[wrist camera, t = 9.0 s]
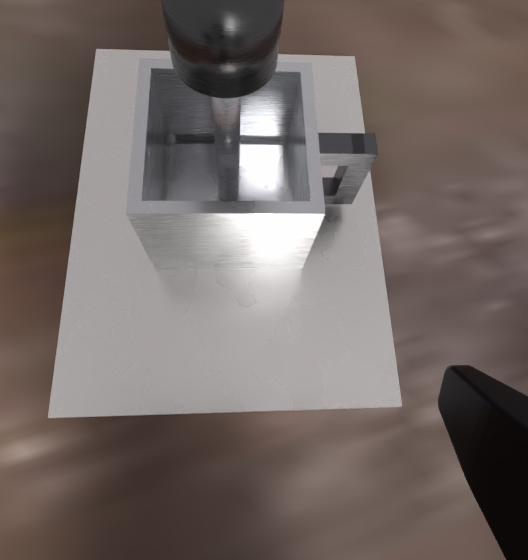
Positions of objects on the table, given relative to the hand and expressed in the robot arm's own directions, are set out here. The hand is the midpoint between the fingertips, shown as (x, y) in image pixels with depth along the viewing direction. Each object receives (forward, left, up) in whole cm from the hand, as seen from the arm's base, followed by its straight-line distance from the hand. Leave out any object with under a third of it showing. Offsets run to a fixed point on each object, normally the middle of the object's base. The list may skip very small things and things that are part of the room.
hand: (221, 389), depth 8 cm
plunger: (+4, -9, -10) cm, 14 cm away
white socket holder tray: (+4, -9, -11) cm, 15 cm away
